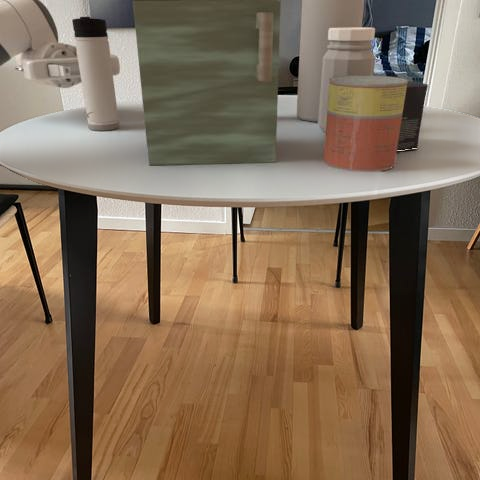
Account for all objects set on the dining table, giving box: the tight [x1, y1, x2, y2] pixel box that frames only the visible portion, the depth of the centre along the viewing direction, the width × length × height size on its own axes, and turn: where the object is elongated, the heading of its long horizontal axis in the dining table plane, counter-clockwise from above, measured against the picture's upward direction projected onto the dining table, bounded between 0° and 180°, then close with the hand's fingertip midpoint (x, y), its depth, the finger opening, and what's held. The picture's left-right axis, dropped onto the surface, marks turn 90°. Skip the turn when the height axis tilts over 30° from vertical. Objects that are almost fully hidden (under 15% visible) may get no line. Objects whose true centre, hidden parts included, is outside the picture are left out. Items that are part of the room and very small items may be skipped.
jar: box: [317, 26, 377, 134], centre depth 96 cm, size 10×10×18 cm
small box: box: [397, 80, 429, 150], centre depth 87 cm, size 11×6×10 cm, turn 21°
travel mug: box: [71, 16, 120, 132], centre depth 99 cm, size 6×7×20 cm
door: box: [132, 0, 282, 166], centre depth 71 cm, size 6×20×22 cm, turn 94°
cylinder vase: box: [296, 0, 366, 123], centre depth 107 cm, size 12×12×25 cm
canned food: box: [322, 75, 409, 173], centre depth 76 cm, size 11×11×12 cm
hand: (89, 69), depth 100 cm, fingers open, 8 cm apart
